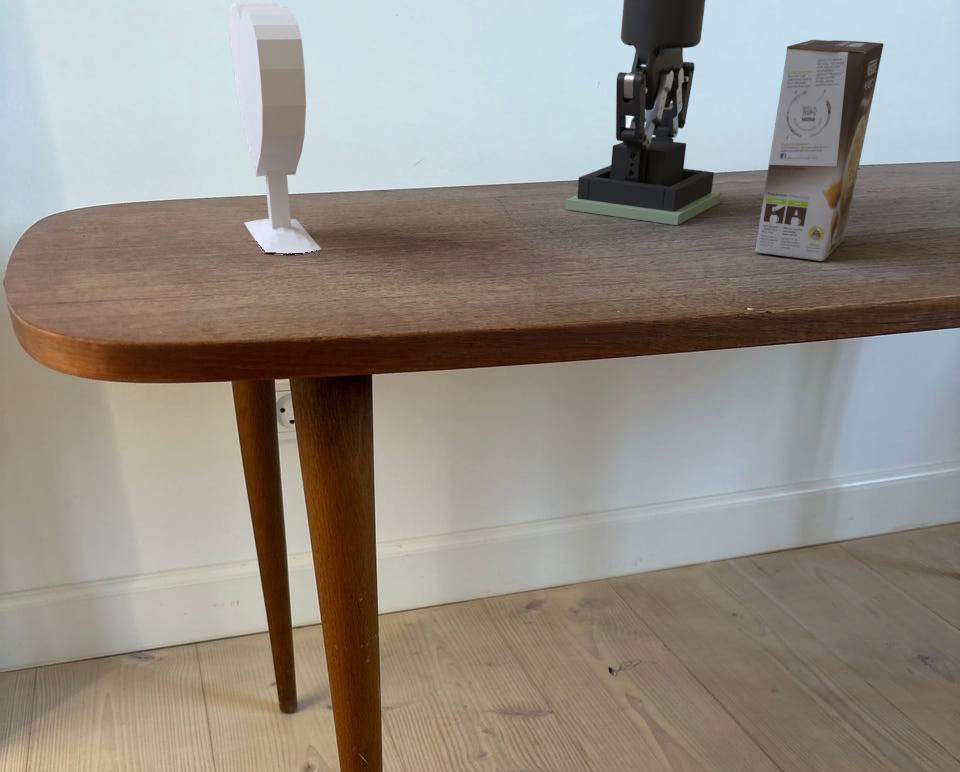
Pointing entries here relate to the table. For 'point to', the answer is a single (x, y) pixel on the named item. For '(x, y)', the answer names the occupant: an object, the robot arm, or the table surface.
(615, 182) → the base pad
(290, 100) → the heart sculpture
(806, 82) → the coffee box
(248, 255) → the table surface
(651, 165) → the black block
